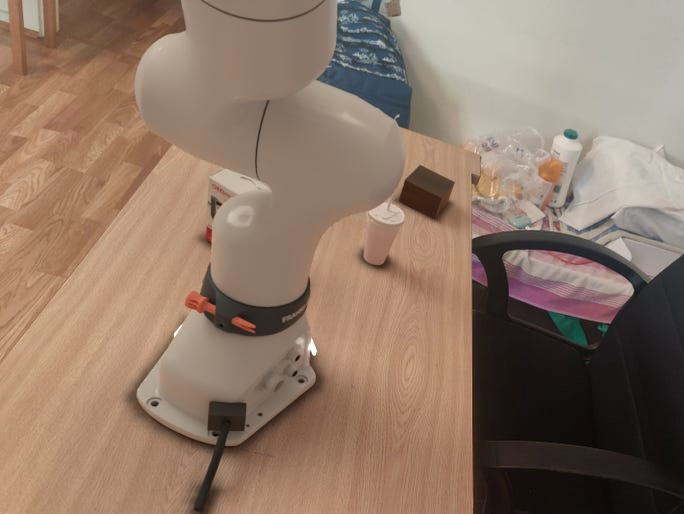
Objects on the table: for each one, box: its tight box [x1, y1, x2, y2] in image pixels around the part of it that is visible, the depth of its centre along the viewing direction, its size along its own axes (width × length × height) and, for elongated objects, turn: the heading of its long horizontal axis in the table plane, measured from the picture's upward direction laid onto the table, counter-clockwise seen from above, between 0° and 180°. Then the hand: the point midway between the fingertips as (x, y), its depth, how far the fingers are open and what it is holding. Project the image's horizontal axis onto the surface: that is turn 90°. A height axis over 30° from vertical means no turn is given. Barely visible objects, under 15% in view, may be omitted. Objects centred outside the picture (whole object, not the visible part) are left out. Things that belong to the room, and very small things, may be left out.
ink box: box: [205, 168, 270, 244], centre depth 91 cm, size 9×5×12 cm, turn 65°
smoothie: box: [363, 191, 406, 266], centre depth 100 cm, size 6×6×14 cm
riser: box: [398, 164, 456, 220], centre depth 121 cm, size 8×8×5 cm
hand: (363, 20), depth 82 cm, fingers open, 8 cm apart
